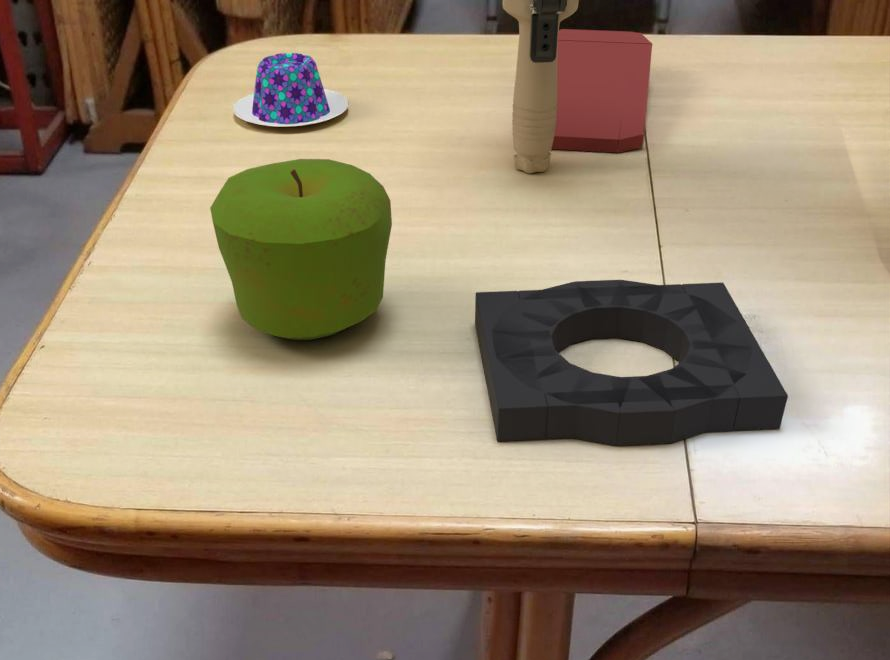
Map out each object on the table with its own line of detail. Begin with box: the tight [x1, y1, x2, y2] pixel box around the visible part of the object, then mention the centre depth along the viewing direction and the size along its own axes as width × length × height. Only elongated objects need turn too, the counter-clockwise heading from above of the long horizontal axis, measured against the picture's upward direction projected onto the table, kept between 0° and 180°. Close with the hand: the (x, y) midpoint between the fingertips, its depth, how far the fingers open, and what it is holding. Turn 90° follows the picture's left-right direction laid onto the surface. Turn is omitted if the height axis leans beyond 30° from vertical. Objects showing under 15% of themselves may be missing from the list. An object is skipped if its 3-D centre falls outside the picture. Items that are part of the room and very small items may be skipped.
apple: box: [209, 158, 393, 341], centre depth 75 cm, size 12×12×11 cm
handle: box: [502, 0, 580, 174], centre depth 95 cm, size 5×6×15 cm
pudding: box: [232, 52, 349, 128], centre depth 110 cm, size 12×12×5 cm
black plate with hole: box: [474, 279, 789, 447], centre depth 72 cm, size 18×17×2 cm
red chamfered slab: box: [551, 28, 653, 154], centre depth 112 cm, size 12×5×25 cm
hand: (537, 49), depth 93 cm, fingers closed on handle, 5 cm apart
